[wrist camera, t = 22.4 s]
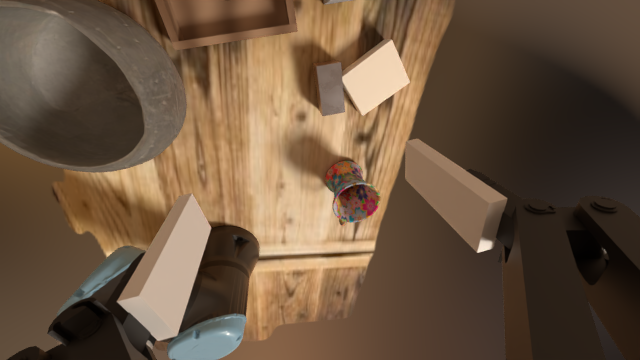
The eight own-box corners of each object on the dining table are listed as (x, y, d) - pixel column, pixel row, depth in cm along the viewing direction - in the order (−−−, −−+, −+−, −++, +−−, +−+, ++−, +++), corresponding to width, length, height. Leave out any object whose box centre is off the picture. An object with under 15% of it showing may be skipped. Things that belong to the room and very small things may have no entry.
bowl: (53, 122, 40) (-49, 163, 27) (29, -31, 31) (-142, -78, 18) (192, 153, 46) (161, 198, 34) (205, 34, 37) (170, 33, 25)
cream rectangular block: (357, 110, 48) (362, 115, 45) (335, 75, 44) (340, 78, 41) (401, 79, 46) (409, 82, 43) (383, 39, 42) (391, 39, 39)
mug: (330, 153, 51) (341, 178, 42) (369, 161, 54) (388, 186, 45) (315, 199, 57) (322, 230, 48) (351, 204, 59) (365, 235, 50)
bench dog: (318, 109, 46) (322, 116, 42) (312, 63, 42) (316, 66, 38) (339, 105, 46) (344, 112, 42) (335, 59, 42) (341, 62, 38)
